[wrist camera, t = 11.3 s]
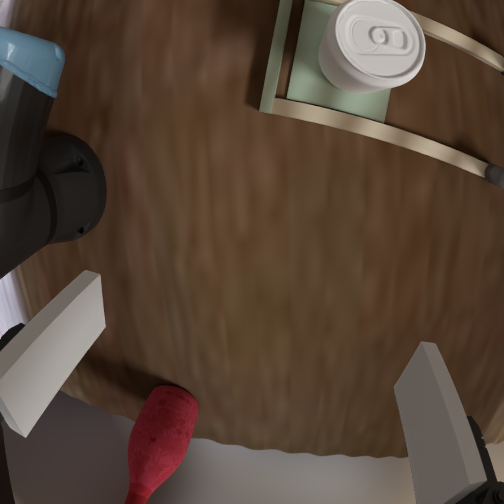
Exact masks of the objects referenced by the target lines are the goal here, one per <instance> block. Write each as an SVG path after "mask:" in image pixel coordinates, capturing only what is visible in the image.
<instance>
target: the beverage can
mask: <svg viewBox="0 0 504 504" xmlns="http://www.w3.org/2000/svg"><path fill="white" fill-rule="evenodd" d="M424 56H425V38H424V34H423V31H422V29H421V27H420V25H419V23H418V22H417V20H416V19H415V18H414V16H413V15H412V14H411V13H410V12H409V11H408V10H407V9H406V8H404V7H403V6H401V5H400V4H398V3H396V2H395V1H392V0H347V1H345V2H343V3H342V4H340V5H339V6H338V7H337V8H336V9H335V10H334V11H333V13H332V14H331V16H330V18H329V21H328V24H327V26H326V29H325V32H324V35H323V38H322V41H321V43H320V46H319V51H318V60H319V64H320V67H321V70H322V72H323V74H324V75H325V77H326V78H327V79H328V80H329V81H330V82H331V83H332V84H333V85H334V86H336V87H337V88H339V89H341V90H343V91H345V92H348V93H352V94H368V93H372V92H376V91H380V90H384V89H388V88H392V87H396V86H400V85H402V84H404V83H406V82H408V81H410V80H411V79H412V78H413V77H414V76H415V75H416V74H417V73H418V71H419V70H420V68H421V66H422V64H423V60H424Z"/></svg>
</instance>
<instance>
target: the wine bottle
mask: <svg viewBox="0 0 504 504" xmlns="http://www.w3.org/2000/svg"><path fill="white" fill-rule="evenodd" d="M198 410H199V406H198V403H197V401H196V399H195V398H194V397H193V396H192V395H191V394H190V393H188V392H187V391H185V390H183V389H181V388H179V387H176V386H172V385H161V386H158V387H156V388H154V389H153V390H152V392H151V393H150V395H149V397H148V399H147V400H146V402H145V404H144V406H143V408H142V410H141V412H140V414H139V416H138V418H137V420H136V422H135V424H134V427H133V429H132V432H131V434H130V438H129V444H128V467H129V491H128V495H127V498H126V501H125V504H145V503H146V501H147V499H148V498H149V496H150V495H151V494H152V492H153V491H154V490H155V489H156V488H157V487H158V486H159V485H160V484H161V483H163V482H164V481H165V480H166V479H167V478H168V477H169V476H170V475H171V474H172V473H173V472H174V471H175V470H176V469H177V467H178V466H179V464H180V463H181V462H182V460H183V458H184V456H185V454H186V451H187V449H188V445H189V442H190V439H191V436H192V433H193V429H194V426H195V422H196V419H197V415H198Z"/></svg>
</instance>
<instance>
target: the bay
mask: <svg viewBox="0 0 504 504" xmlns="http://www.w3.org/2000/svg"><path fill="white" fill-rule="evenodd" d="M315 1H318V2H315ZM345 1H347V0H313V1H310V0H305V4H304V9H303V14H302V20H301V25H300V30H299V36H298V41H297V46H296V52H295V57H294V62H293V68H292V73H291V78H290V83H289V89H288V94H287V99H291V100H296V101H301V102H306V103H310V104H315V105H319V106H324V107H328V108H332V109H336V110H340V111H344V112H348V113H351V114H355V115H359V116H362V117H366V118H369V119H373V120H376V121H379V122H383V123H384V120H385V115H386V110H387V105H388V100H389V95H390V90H391V88H388V89H384V90H380V91H376V92H372V93H368V94H352V93H348V92H345V91H343V90H341V89H339V88H337V87H336V86H334V85H333V84H332V83H331V82H330V81H329V80H328V79H327V78H326V77H325V75H324V74H323V72H322V70H321V67H320V64H319V60H318V51H319V46H320V43H321V41H322V38H323V35H324V32H325V29H326V26H327V24H328V21H329V18H330V16H331V14H332V13H333V11H334V10H335V9H336V8H337V7H338V6H339V5H340V4H342V3H343V2H345ZM320 2H323V3H320ZM325 3H328V4H325ZM292 4H293V0H280V4H279V9H278V14H277V19H276V25H275V30H274V35H273V40H272V45H271V50H270V56H269V61H268V66H267V72H266V77H265V82H264V88H263V93H262V99H261V104H260V110H259V112H265V113H270V114H276V115H281V116H287V117H292V118H296V119H301V120H306V121H310V122H315V123H319V124H323V125H328V126H332V127H336V128H340V129H344V130H347V131H351V132H355V133H359V134H362V135H366V136H369V137H373V138H376V139H380V140H383V141H386V142H390V143H393V144H396V145H399V146H402V147H405V148H408V149H411V150H414V151H417V152H420V153H423V154H426V155H429V156H431V157H434V158H437V159H440V160H442V161H445V162H447V163H450V164H453V165H455V166H458V167H460V168H463V169H465V170H468V171H470V172H472V173H475V174H477V175H479V176H481V177H482V179H484V180H485V181H488V182H490V183H492V184H494V185H496V186H498V187H500V188H502V189H504V168H502V167H500V166H497V165H495V164H492V163H489V162H483V161H480V160H478V159H476V158H474V157H471V156H469V155H467V154H464V153H462V152H460V151H457V150H455V149H452V148H450V147H447V146H445V145H442V144H440V143H437V142H434V141H432V140H429V139H426V138H424V137H421V136H418V135H415V134H412V133H409V132H406V131H403V130H400V129H397V128H394V127H391V126H388V125H385V124H382V123H378V122H375V121H372V120H368V119H365V118H361V117H358V116H354V115H350V114H346V113H343V112H339V111H335V110H331V109H326V108H322V107H318V106H313V105H309V104H304V103H300V102H295V101H290V100H284V99H279V98H275V93H276V88H277V83H278V77H279V72H280V67H281V61H282V56H283V51H284V46H285V40H286V35H287V30H288V25H289V19H290V14H291V9H292ZM329 4H332V5H329ZM334 5H336V6H334ZM409 12H410V13H411V14H412V15H413V16H414V18H415V19H416V20H417V22H418V23H419V25H420V27H421V29H422V31H423V33H424V34H427V35H429V36H431V37H434V38H436V39H438V40H441V41H443V42H445V43H447V44H449V45H451V46H454V47H456V48H458V49H460V50H462V51H464V52H466V53H468V54H470V55H472V56H474V57H476V58H477V59H479V60H481V61H483V62H485V63H487V64H488V65H490V66H492V67H494V68H495V69H497V70H499V71H500V72H501V73H502V74H503V75H504V57H503V56H501V55H499V54H498V53H496V52H494V51H493V50H491V49H489V48H487V47H486V46H484V45H482V44H480V43H478V42H477V41H475V40H473V39H471V38H469V37H467V36H465V35H463V34H461V33H459V32H457V31H455V30H453V29H451V28H449V27H447V26H444V25H442V24H440V23H438V22H435V21H433V20H431V19H428V18H426V17H424V16H421V15H419V14H416V13H414V12H411V11H409Z"/></svg>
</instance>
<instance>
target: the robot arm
mask: <svg viewBox="0 0 504 504" xmlns="http://www.w3.org/2000/svg"><path fill="white" fill-rule="evenodd" d="M64 63H65V54H64V51H63V49H62V48H61V47H60V46H59V45H58V44H55V43H53V42H50V41H47V40H44V39H41V38H38V37H35V36H32V35H28V34H25V33H22V32H18V31H15V30H11V29H8V28H4V27H0V279H1V278H2V277H4V276H5V275H6V274H8V273H9V272H10V271H11V270H13V269H14V268H15V267H17V266H18V265H19V264H21V263H22V262H23V261H25V260H26V259H27V258H29V257H30V256H32V255H33V254H34V253H36V252H37V251H38V250H40V249H41V248H43V247H44V246H46V245H47V244H54V243H60V242H67V241H73V240H76V239H78V238H80V237H82V236H83V235H85V234H86V233H88V232H89V231H91V230H92V229H93V228H94V227H95V226H96V225H97V223H98V222H99V220H100V219H101V217H102V214H103V211H104V208H105V203H106V181H105V176H104V172H103V169H102V166H101V164H100V162H99V160H98V158H97V156H96V155H95V153H94V152H93V150H92V149H91V148H90V147H89V146H88V145H87V144H86V143H85V142H83V141H82V140H80V139H79V138H77V137H74V136H71V135H58V136H53V137H49V138H46V139H44V140H43V137H44V133H45V129H46V125H47V121H48V118H49V114H50V111H51V108H52V104H53V101H54V98H56V97H57V88H58V84H59V80H60V77H61V73H62V70H63V67H64ZM105 327H106V325H105V317H104V309H103V299H102V289H101V277H100V274H98V273H94V272H91V271H87V270H85V271H83V272H82V273H81V274H80V275H79V276H78V277H77V278H76V279H74V280H73V281H72V282H71V283H70V284H69V285H68V286H67V287H66V288H65V289H63V290H62V291H61V292H60V293H59V294H58V295H57V296H56V297H55V298H54V299H53V300H52V301H51V302H49V303H48V304H47V305H46V306H45V307H44V308H43V309H42V310H41V311H40V312H39V313H38V314H37V315H36V316H35V317H34V318H33V319H32V320H31V321H30V322H29V323H28V324H27V325H25V324H23V323H20V324H18V325H16V326H14V327H12V328H10V329H9V330H8V331H7V332H6V333H5V334H4V335H3V336H2V337H1V339H0V504H15V501H14V497H13V493H12V488H11V483H10V478H9V472H8V466H7V460H6V453H5V446H4V437H3V429H2V425H1V422H2V420H3V419H5V421H6V422H7V424H8V425H9V427H10V428H11V429H13V430H14V431H16V432H17V433H19V434H21V435H22V436H24V437H27V435H28V434H29V432H30V431H31V429H32V428H33V426H34V425H35V423H36V422H37V420H38V418H39V417H40V416H41V415H42V413H43V412H44V410H45V409H46V407H47V406H48V404H49V403H50V401H51V400H52V399H53V397H54V396H55V394H56V393H57V392H58V390H59V389H60V387H61V386H62V385H63V383H64V382H65V380H66V379H67V378H68V376H69V375H70V373H71V372H72V371H73V369H74V368H75V367H76V365H77V364H78V363H79V361H80V360H81V359H82V357H83V356H84V355H85V353H86V352H87V351H88V349H89V348H90V347H91V345H92V344H93V343H94V341H95V340H96V339H97V337H98V336H99V335H100V334H101V332H102V331H103V330H104V328H105ZM394 391H395V396H396V400H397V404H398V408H399V412H400V417H401V421H402V426H403V430H404V435H405V440H406V445H407V450H408V455H409V461H410V466H411V472H412V478H413V484H414V490H415V497H416V504H504V482H501V481H500V482H498V481H497V479H496V476H495V472H494V469H493V466H492V463H491V460H490V457H489V454H488V451H487V448H485V447H486V445H485V442H484V439H482V438H483V436H482V433H481V431H480V428H479V426H478V424H477V423H476V422H475V420H474V419H473V418H472V416H466V414H465V411H464V409H463V406H462V404H461V401H460V399H459V396H458V394H457V391H456V389H455V386H454V384H453V381H452V379H451V377H450V374H449V372H448V370H447V367H446V365H445V363H444V361H443V358H442V356H441V354H440V352H439V350H438V347H437V345H436V343H428V342H420V344H419V346H418V348H417V349H416V351H415V353H414V355H413V356H412V358H411V360H410V361H409V363H408V365H407V366H406V368H405V370H404V371H403V373H402V375H401V376H400V378H399V379H398V381H397V383H396V384H395V386H394Z"/></svg>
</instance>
